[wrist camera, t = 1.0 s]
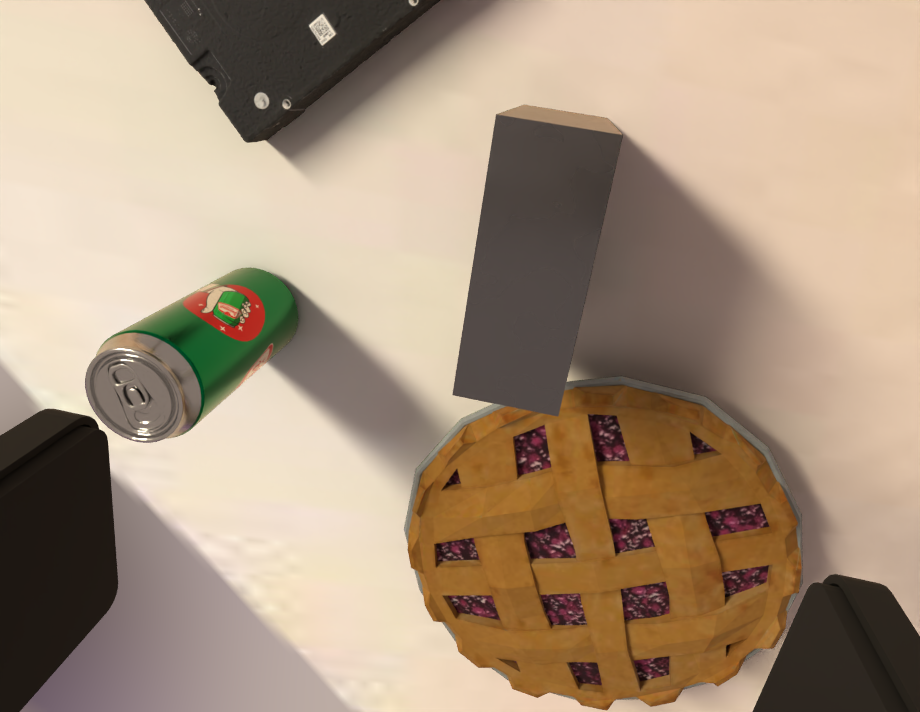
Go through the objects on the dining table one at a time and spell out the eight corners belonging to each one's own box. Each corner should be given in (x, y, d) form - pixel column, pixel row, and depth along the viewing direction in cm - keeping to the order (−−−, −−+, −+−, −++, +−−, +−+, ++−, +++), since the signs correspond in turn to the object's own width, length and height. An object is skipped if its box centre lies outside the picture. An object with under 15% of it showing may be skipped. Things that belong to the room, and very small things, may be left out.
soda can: (242, 358, 40) (114, 462, 29) (204, 280, 38) (53, 358, 27) (316, 335, 38) (211, 435, 27) (279, 253, 37) (152, 324, 26)
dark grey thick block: (607, 118, 32) (622, 134, 21) (564, 314, 36) (558, 416, 25) (524, 104, 32) (496, 114, 21) (490, 300, 36) (452, 394, 25)
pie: (363, 411, 40) (335, 454, 35) (741, 305, 34) (766, 339, 30) (486, 682, 47) (476, 747, 42) (821, 631, 41) (853, 701, 36)
